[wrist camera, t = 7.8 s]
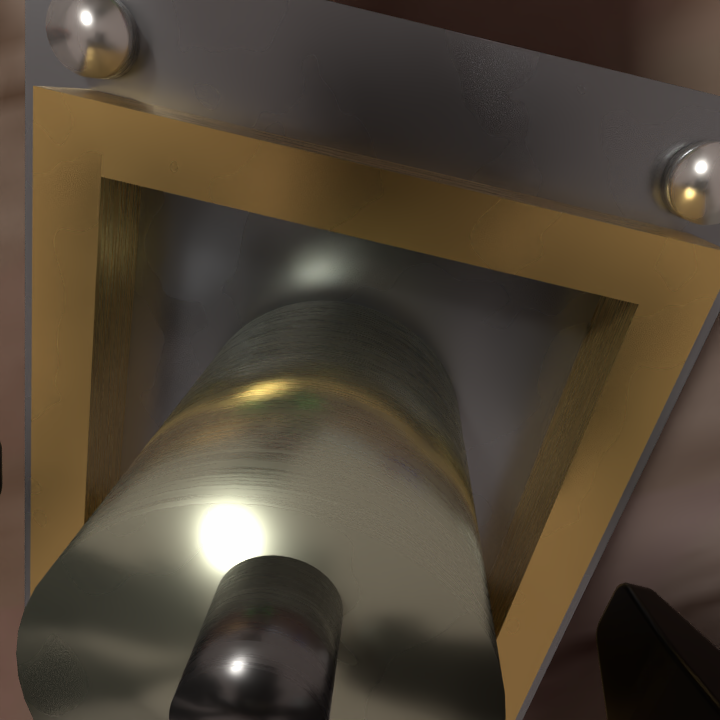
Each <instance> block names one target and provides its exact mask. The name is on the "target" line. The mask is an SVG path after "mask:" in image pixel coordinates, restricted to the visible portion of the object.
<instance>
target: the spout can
mask: <svg viewBox="0 0 720 720" xmlns="http://www.w3.org/2000/svg"><path fill="white" fill-rule="evenodd" d="M16 655H17V666H18V676H19V680H20V684H21V688H22V691H23V695H24V699H25V701H26V703H27V706H28V708H29V710H30V712H31V715H32V717H33V719H34V720H505V719H506V709H505V690H504V684H503V678H502V672H501V666H500V659H499V653H498V647H497V641H496V635H495V629H494V622H493V616H492V610H491V604H490V598H489V592H488V586H487V579H486V573H485V567H484V561H483V555H482V549H481V542H480V536H479V530H478V524H477V518H476V512H475V505H474V499H473V493H472V487H471V481H470V475H469V469H468V462H467V456H466V450H465V444H464V438H463V432H462V425H461V419H460V413H459V408H458V403H457V398H456V393H455V391H454V388H453V385H452V382H451V380H450V378H449V376H448V374H447V372H446V370H445V368H444V366H443V364H442V363H441V362H440V360H439V359H438V358H437V356H436V355H435V353H434V352H433V351H432V350H431V349H430V348H429V347H428V346H427V344H426V343H425V342H424V341H423V340H422V339H421V338H420V337H418V336H417V335H416V334H415V333H413V332H412V331H411V330H410V329H408V328H407V327H406V326H404V325H402V324H401V323H399V322H397V321H396V320H394V319H393V318H391V317H389V316H386V315H384V314H382V313H380V312H377V311H375V310H372V309H369V308H366V307H362V306H359V305H355V304H349V303H344V302H336V301H312V302H301V303H297V304H292V305H287V306H283V307H281V308H278V309H275V310H272V311H270V312H267V313H265V314H263V315H261V316H260V317H258V318H256V319H254V320H252V321H251V322H249V323H248V324H247V325H245V326H244V327H242V328H241V329H240V330H239V331H238V332H236V333H235V334H234V335H233V336H232V337H231V338H230V339H229V340H228V341H227V343H226V344H225V345H224V346H223V348H222V349H221V350H220V351H219V353H218V354H217V355H216V357H215V358H214V359H213V360H212V362H211V363H210V364H209V366H208V367H207V368H206V369H205V371H204V372H203V373H202V375H201V376H200V377H199V378H198V380H197V381H196V382H195V383H194V385H193V386H192V387H191V389H190V390H189V391H188V392H187V394H186V395H185V396H184V398H183V399H182V400H181V401H180V403H179V404H178V405H177V407H176V408H175V409H174V410H173V412H172V413H171V414H170V415H169V417H168V418H167V419H166V421H165V422H164V423H163V424H162V426H161V427H160V428H159V430H158V431H157V432H156V433H155V435H154V436H153V437H152V439H151V440H150V441H149V442H148V444H147V445H146V446H145V447H144V449H143V450H142V451H141V453H140V454H139V455H138V456H137V458H136V459H135V460H134V462H133V463H132V464H131V465H130V467H129V468H128V469H127V471H126V472H125V473H124V474H123V476H122V477H121V478H120V479H119V481H118V482H117V483H116V485H115V486H114V487H113V488H112V490H111V491H110V492H109V494H108V495H107V496H106V497H105V499H104V500H103V501H102V502H101V504H100V505H99V506H98V508H97V509H96V510H95V511H94V513H93V514H92V515H91V517H90V518H89V519H88V520H87V522H86V523H85V524H84V526H83V527H82V528H81V529H80V531H79V532H78V533H77V534H76V536H75V537H74V538H73V540H72V541H71V542H70V543H69V545H68V546H67V547H66V549H65V550H64V551H63V552H62V554H61V555H60V556H59V558H58V559H57V560H56V561H55V563H54V564H53V565H52V566H51V568H50V569H49V570H48V572H47V573H46V574H45V576H44V577H43V578H42V579H41V581H40V582H39V583H38V585H37V586H36V587H35V589H34V591H33V593H32V595H31V597H30V599H29V601H28V603H27V605H26V607H25V609H24V613H23V616H22V620H21V623H20V627H19V630H18V640H17V652H16Z"/></svg>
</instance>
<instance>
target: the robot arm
mask: <svg viewBox="0 0 720 720" xmlns="http://www.w3.org/2000/svg"><path fill="white" fill-rule="evenodd" d="M1 490H2V446H1V443H0V494H1ZM596 643H597V650H598V657H599V665H600V672H601V679H602V686H603V694H604V701H605V708H606V715H607V720H720V651H719V650H718V649H717V648H716V647H715V646H714V645H713V644H712V643H711V642H710V641H708V640H707V639H706V638H705V637H704V636H703V635H702V634H701V633H700V632H698V631H697V630H696V629H695V628H694V627H693V626H692V625H691V624H690V623H689V622H687V621H686V620H685V619H684V618H683V617H682V616H681V615H680V614H679V613H677V612H676V611H675V610H674V609H673V608H672V607H671V606H670V605H669V604H668V603H666V602H665V601H664V600H663V599H662V598H661V597H660V596H659V595H658V594H657V593H655V592H654V591H653V590H651V589H649V588H646V587H642V586H638V585H633V584H629V583H623V584H620V585H619V586H618V587H617V588H616V590H615V591H614V593H613V595H612V597H611V599H610V601H609V603H608V605H607V607H606V609H605V611H604V613H603V615H602V617H601V619H600V621H599V623H598V627H597V632H596Z"/></svg>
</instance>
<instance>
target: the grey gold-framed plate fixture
mask: <svg viewBox="0 0 720 720" xmlns="http://www.w3.org/2000/svg"><path fill="white" fill-rule="evenodd" d="M312 301H336V302H344V303H349V304H355V305H359V306H362V307H366V308H369V309H372V310H375V311H377V312H380V313H382V314H384V315H386V316H389V317H391V318H393V319H394V320H396V321H397V322H399V323H401V324H402V325H404V326H406V327H407V328H408V329H410V330H411V331H412V332H413V333H415V334H416V335H417V336H418V337H420V338H421V339H422V340H423V341H424V342H425V343H426V344H427V346H428V347H429V348H430V349H431V350H432V351H433V352H434V353H435V355H436V356H437V358H438V359H439V360H440V362H441V363H442V364H443V366H444V368H445V370H446V372H447V374H448V376H449V378H450V380H451V382H452V385H453V388H454V391H455V393H456V398H457V403H458V408H459V413H460V419H461V425H462V432H463V438H464V444H465V450H466V456H467V462H468V469H469V475H470V481H471V487H472V493H473V499H474V505H475V512H476V518H477V524H478V530H479V536H480V542H481V549H482V555H483V561H484V567H485V573H486V579H487V586H488V592H489V598H490V604H491V610H492V616H493V622H494V629H495V635H496V641H497V647H498V653H499V659H500V666H501V672H502V678H503V684H504V690H505V709H506V719H505V720H523V718H524V716H525V713H526V711H527V709H528V707H529V705H530V703H531V701H532V699H533V697H534V695H535V693H536V691H537V689H538V687H539V684H540V682H541V680H542V678H543V676H544V674H545V672H546V670H547V668H548V666H549V664H550V662H551V660H552V657H553V655H554V653H555V651H556V649H557V647H558V645H559V643H560V641H561V639H562V637H563V635H564V633H565V631H566V628H567V626H568V624H569V622H570V620H571V618H572V616H573V614H574V612H575V610H576V608H577V606H578V604H579V602H580V599H581V597H582V595H583V593H584V591H585V589H586V587H587V585H588V583H589V581H590V579H591V577H592V575H593V573H594V570H595V568H596V566H597V564H598V562H599V560H600V558H601V556H602V554H603V552H604V550H605V548H606V546H607V544H608V541H609V539H610V537H611V535H612V533H613V531H614V529H615V527H616V525H617V523H618V521H619V519H620V517H621V515H622V512H623V510H624V508H625V506H626V504H627V502H628V500H629V498H630V496H631V494H632V492H633V490H634V488H635V486H636V483H637V481H638V479H639V477H640V475H641V473H642V471H643V469H644V467H645V465H646V463H647V461H648V459H649V457H650V454H651V452H652V450H653V448H654V446H655V444H656V442H657V440H658V438H659V436H660V434H661V432H662V430H663V428H664V425H665V423H666V421H667V419H668V417H669V415H670V413H671V411H672V409H673V407H674V405H675V403H676V401H677V398H678V396H679V394H680V392H681V390H682V388H683V386H684V384H685V382H686V380H687V378H688V376H689V374H690V372H691V369H692V367H693V365H694V363H695V361H696V359H697V357H698V355H699V353H700V351H701V349H702V347H703V345H704V343H705V340H706V338H707V336H708V334H709V332H710V330H711V328H712V326H713V324H714V322H715V320H716V318H717V316H718V314H719V311H720V96H717V95H713V94H709V93H705V92H701V91H697V90H693V89H689V88H684V87H680V86H676V85H672V84H668V83H664V82H660V81H656V80H652V79H648V78H643V77H639V76H635V75H631V74H627V73H623V72H619V71H615V70H611V69H606V68H602V67H598V66H594V65H590V64H586V63H582V62H578V61H574V60H570V59H565V58H561V57H557V56H553V55H549V54H545V53H541V52H537V51H533V50H528V49H524V48H520V47H516V46H512V45H508V44H504V43H500V42H496V41H492V40H487V39H483V38H479V37H475V36H471V35H467V34H463V33H459V32H455V31H450V30H446V29H442V28H438V27H434V26H430V25H426V24H422V23H418V22H414V21H409V20H405V19H401V18H397V17H393V16H389V15H385V14H381V13H377V12H372V11H368V10H364V9H360V8H356V7H352V6H348V5H344V4H340V3H336V2H331V1H327V0H25V607H26V605H27V603H28V601H29V599H30V597H31V595H32V593H33V591H34V589H35V587H36V586H37V585H38V583H39V582H40V581H41V579H42V578H43V577H44V576H45V574H46V573H47V572H48V570H49V569H50V568H51V566H52V565H53V564H54V563H55V561H56V560H57V559H58V558H59V556H60V555H61V554H62V552H63V551H64V550H65V549H66V547H67V546H68V545H69V543H70V542H71V541H72V540H73V538H74V537H75V536H76V534H77V533H78V532H79V531H80V529H81V528H82V527H83V526H84V524H85V523H86V522H87V520H88V519H89V518H90V517H91V515H92V514H93V513H94V511H95V510H96V509H97V508H98V506H99V505H100V504H101V502H102V501H103V500H104V499H105V497H106V496H107V495H108V494H109V492H110V491H111V490H112V488H113V487H114V486H115V485H116V483H117V482H118V481H119V479H120V478H121V477H122V476H123V474H124V473H125V472H126V471H127V469H128V468H129V467H130V465H131V464H132V463H133V462H134V460H135V459H136V458H137V456H138V455H139V454H140V453H141V451H142V450H143V449H144V447H145V446H146V445H147V444H148V442H149V441H150V440H151V439H152V437H153V436H154V435H155V433H156V432H157V431H158V430H159V428H160V427H161V426H162V424H163V423H164V422H165V421H166V419H167V418H168V417H169V415H170V414H171V413H172V412H173V410H174V409H175V408H176V407H177V405H178V404H179V403H180V401H181V400H182V399H183V398H184V396H185V395H186V394H187V392H188V391H189V390H190V389H191V387H192V386H193V385H194V383H195V382H196V381H197V380H198V378H199V377H200V376H201V375H202V373H203V372H204V371H205V369H206V368H207V367H208V366H209V364H210V363H211V362H212V360H213V359H214V358H215V357H216V355H217V354H218V353H219V351H220V350H221V349H222V348H223V346H224V345H225V344H226V343H227V341H228V340H229V339H230V338H231V337H232V336H233V335H234V334H235V333H236V332H238V331H239V330H240V329H241V328H242V327H244V326H245V325H247V324H248V323H249V322H251V321H252V320H254V319H256V318H258V317H260V316H261V315H263V314H265V313H267V312H270V311H272V310H275V309H278V308H281V307H283V306H287V305H292V304H297V303H301V302H312Z"/></svg>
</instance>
